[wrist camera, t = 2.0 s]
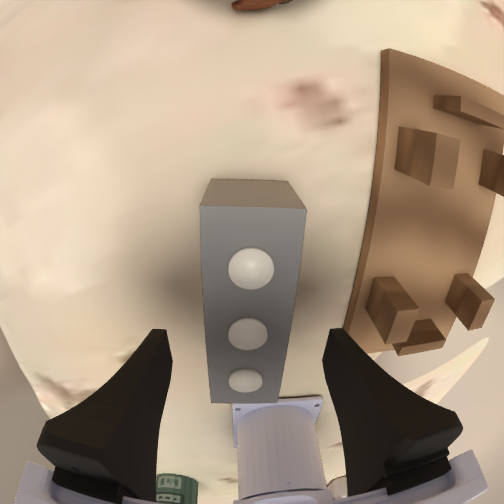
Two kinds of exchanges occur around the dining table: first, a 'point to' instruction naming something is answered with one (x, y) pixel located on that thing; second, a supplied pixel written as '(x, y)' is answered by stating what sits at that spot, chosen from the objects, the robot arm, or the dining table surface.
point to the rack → (427, 207)
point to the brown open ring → (256, 4)
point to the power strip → (249, 284)
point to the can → (176, 489)
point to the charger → (339, 487)
